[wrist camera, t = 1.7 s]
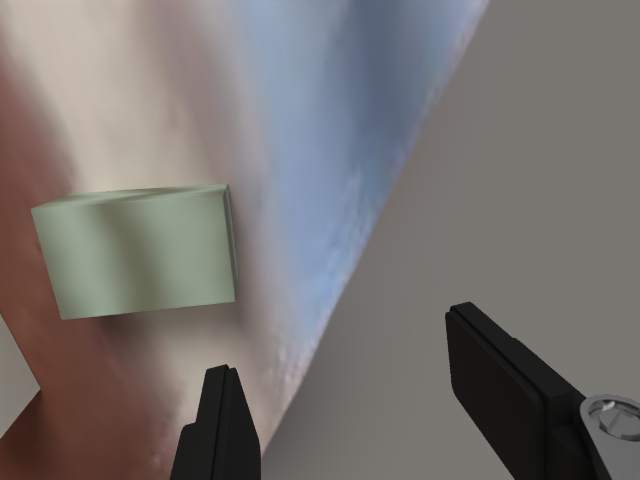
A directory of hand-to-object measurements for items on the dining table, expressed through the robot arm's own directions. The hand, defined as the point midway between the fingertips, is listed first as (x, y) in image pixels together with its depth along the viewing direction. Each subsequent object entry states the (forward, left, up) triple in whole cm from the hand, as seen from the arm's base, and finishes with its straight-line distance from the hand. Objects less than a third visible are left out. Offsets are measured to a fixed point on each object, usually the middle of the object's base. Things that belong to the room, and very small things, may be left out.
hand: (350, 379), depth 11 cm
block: (+11, 0, -23) cm, 25 cm away
